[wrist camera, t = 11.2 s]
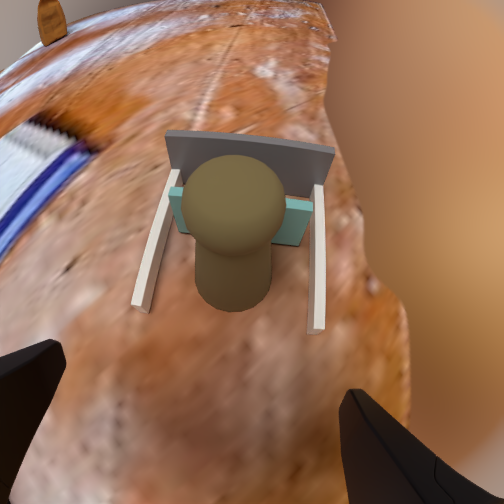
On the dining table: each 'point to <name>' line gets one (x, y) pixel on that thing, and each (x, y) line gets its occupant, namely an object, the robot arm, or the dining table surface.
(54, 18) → the coffee package
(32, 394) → the robot arm
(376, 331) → the dining table surface
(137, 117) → the dining table surface
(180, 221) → the pusher paddle
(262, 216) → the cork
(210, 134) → the pusher lane
